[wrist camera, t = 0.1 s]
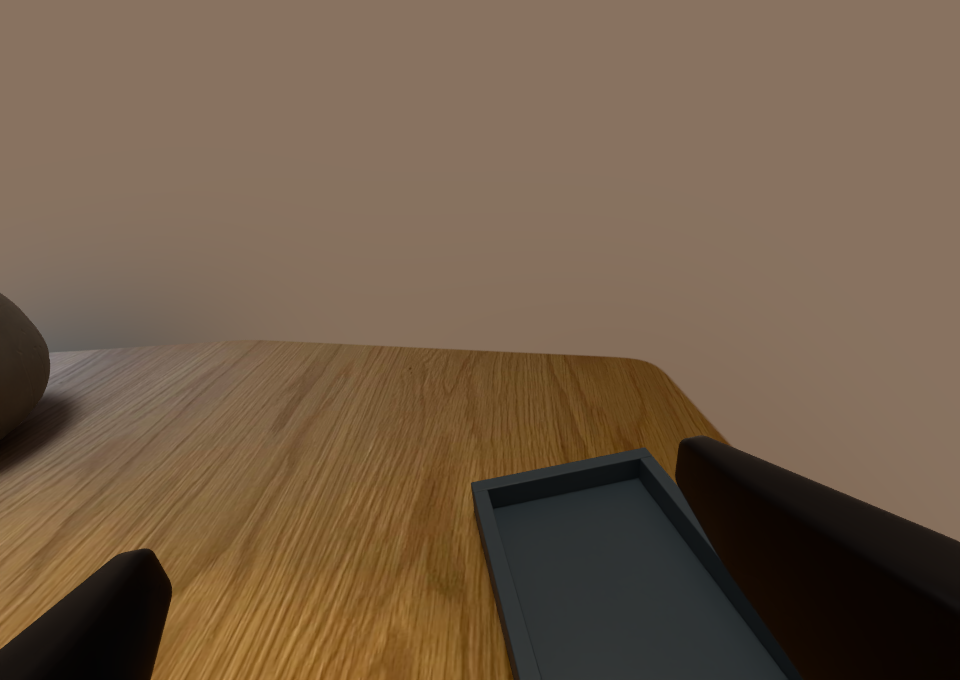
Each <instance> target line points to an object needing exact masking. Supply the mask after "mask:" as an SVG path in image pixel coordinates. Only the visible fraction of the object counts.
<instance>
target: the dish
mask: <svg viewBox="0 0 960 680" xmlns="http://www.w3.org/2000/svg"><path fill="white" fill-rule="evenodd" d="M471 487H472V495H473V503H474V512H475V516H476V521H477V525H478V529H479V533H480V538H481V542H482V546H483V550H484V554H485V559H486V563H487V567H488V571H489V576H490V580H491V584H492V588H493V593H494V597H495V601H496V605H497V609H498V614H499V618H500V622H501V626H502V631H503V635H504V639H505V643H506V648H507V652H508V656H509V660H510V665H511V669H512V673H513V677H514V680H803V679H802V678H801V676H800V675H799V673H798V672H797V670H796V669H795V668H794V666H793V665H792V663H791V662H790V660H789V659H788V658H787V656H786V655H785V653H784V652H783V650H782V649H781V647H780V646H779V645H778V643H777V642H776V640H775V639H774V637H773V636H772V635H771V633H770V632H769V630H768V629H767V627H766V626H765V625H764V623H763V622H762V620H761V619H760V617H759V616H758V615H757V613H756V612H755V610H754V609H753V607H752V606H751V605H750V603H749V602H748V600H747V599H746V597H745V596H744V594H743V593H742V592H741V590H740V589H739V587H738V586H737V584H736V583H735V582H734V580H733V579H732V577H731V576H730V574H729V573H728V571H727V570H726V568H725V567H724V565H723V564H722V562H721V560H720V559H719V557H718V556H717V554H716V552H715V551H714V549H713V547H712V545H711V543H710V542H709V540H708V538H707V536H706V535H705V533H704V531H703V529H702V528H701V526H700V524H699V522H698V521H697V519H696V517H695V515H694V514H693V512H692V510H691V508H690V506H689V505H688V503H687V501H686V499H685V498H684V496H683V494H682V492H681V491H680V489H679V487H678V486H677V485H676V484H675V482H674V481H673V480H672V479H671V478H670V476H669V475H668V474H667V473H666V472H665V470H664V469H663V468H662V467H661V466H660V465H659V463H658V462H657V461H656V460H655V459H654V457H652V455H651V454H650V453H649V451H648V450H647V449H646V448H640V449H635V450H630V451H625V452H620V453H616V454H611V455H606V456H601V457H596V458H591V459H586V460H581V461H576V462H571V463H566V464H561V465H556V466H551V467H546V468H541V469H536V470H532V471H527V472H522V473H517V474H512V475H507V476H502V477H497V478H492V479H487V480H482V481H477V482H472V483H471Z"/></svg>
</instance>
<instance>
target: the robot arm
mask: <svg viewBox="0 0 960 680" xmlns="http://www.w3.org/2000/svg"><path fill="white" fill-rule="evenodd" d="M675 477H676V482H677V484H678V487H679V489H680V491H681V492H682V494H683V496H684V498H685V499H686V501H687V503H688V505H689V506H690V508H691V510H692V512H693V514H694V515H695V517H696V519H697V521H698V522H699V524H700V526H701V528H702V529H703V531H704V533H705V535H706V536H707V538H708V540H709V542H710V543H711V545H712V547H713V549H714V551H715V552H716V554H717V556H718V557H719V559H720V560H721V562H722V564H723V565H724V567H725V568H726V570H727V571H728V573H729V574H730V576H731V577H732V579H733V580H734V582H735V583H736V584H737V586H738V587H739V589H740V590H741V592H742V593H743V594H744V596H745V597H746V599H747V600H748V602H749V603H750V605H751V606H752V607H753V609H754V610H755V612H756V613H757V615H758V616H759V617H760V619H761V620H762V622H763V623H764V625H765V626H766V627H767V629H768V630H769V632H770V633H771V635H772V636H773V637H774V639H775V640H776V642H777V643H778V645H779V646H780V647H781V649H782V650H783V652H784V653H785V655H786V656H787V658H788V659H789V660H790V662H791V663H792V665H793V666H794V668H795V669H796V670H797V672H798V673H799V675H800V676H801V678H802V679H803V680H960V542H959V541H957V540H954V539H952V538H950V537H947V536H945V535H943V534H940V533H938V532H935V531H933V530H931V529H928V528H926V527H923V526H921V525H919V524H916V523H914V522H911V521H909V520H906V519H904V518H902V517H899V516H897V515H894V514H892V513H890V512H887V511H885V510H882V509H880V508H878V507H875V506H872V505H870V504H868V503H865V502H863V501H861V500H858V499H856V498H853V497H851V496H849V495H846V494H844V493H841V492H839V491H837V490H834V489H832V488H829V487H827V486H825V485H822V484H820V483H817V482H815V481H813V480H810V479H808V478H805V477H803V476H801V475H798V474H796V473H793V472H791V471H789V470H786V469H784V468H781V467H779V466H776V465H774V464H772V463H769V462H767V461H764V460H762V459H760V458H757V457H755V456H752V455H750V454H748V453H745V452H743V451H740V450H738V449H736V448H733V447H731V446H728V445H726V444H724V443H721V442H719V441H716V440H714V439H712V438H709V437H706V436H695V437H690V438H685V439H683V440H682V441H681V442H680V444H679V448H678V456H677V464H676V471H675ZM171 597H172V586H171V582H170V580H169V578H168V576H167V574H166V573H165V571H164V569H163V567H162V566H161V564H160V562H159V560H158V559H157V557H156V555H155V553H154V552H153V551H152V550H150V549H145V548H144V549H139V550H134V551H129V552H124V553H121V554H118V555H116V556H115V557H113V558H112V559H111V560H110V561H108V562H107V563H106V564H105V565H103V566H102V567H101V568H100V569H99V570H97V571H96V572H95V573H94V574H92V575H91V576H90V577H89V578H87V579H86V580H85V581H84V582H83V583H81V584H80V585H79V586H78V587H76V588H75V589H74V590H73V591H72V592H70V593H69V594H68V595H67V596H65V597H64V598H63V599H62V600H60V601H59V602H58V603H57V604H56V605H54V606H53V607H52V608H51V609H49V610H48V611H47V612H46V613H44V614H43V615H42V616H41V617H40V618H38V619H37V620H36V621H35V622H33V623H32V624H31V625H30V626H29V627H27V628H26V629H25V630H24V631H22V632H21V633H20V634H19V635H17V636H16V637H15V638H14V639H13V640H11V641H10V642H9V643H8V644H6V645H5V646H4V647H3V648H1V649H0V680H151V676H152V672H153V668H154V664H155V660H156V657H157V653H158V649H159V645H160V641H161V637H162V633H163V629H164V625H165V621H166V618H167V614H168V610H169V606H170V602H171Z"/></svg>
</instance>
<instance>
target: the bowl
mask: <svg viewBox="0 0 960 680" xmlns="http://www.w3.org/2000/svg"><path fill="white" fill-rule="evenodd" d="M49 375H50V359H49V352H48V348H47V345H46V343H45V341H44V339H43V337H42V335H41V334H40V332H39V331H38V330H37V328H36V327H35V325H34V324H33V323H32V322H31V321H30V320H29V319H28V317H27V316H26V315H25V314H24V313H23V312H22V311H21V310H20V309H19V308H18V307H17V306H16V305H15V304H14V303H13V302H12V301H10V300H9V299H8V298H7V297H5V296H4V295H2V294H1V293H0V440H1V439H2V438H4V437H5V436H6V435H7V434H9V433H10V432H11V431H13V430H14V429H15V428H16V427H17V426H18V425H19V424H20V423H21V422H22V421H23V420H24V419H25V418H26V417H27V416H28V415H29V414H30V413H31V411H32V410H33V409H34V408H35V406H36V405H37V404H38V402H39V401H40V399H41V397H42V396H43V393H44V391H45V389H46V387H47V383H48V379H49Z"/></svg>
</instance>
